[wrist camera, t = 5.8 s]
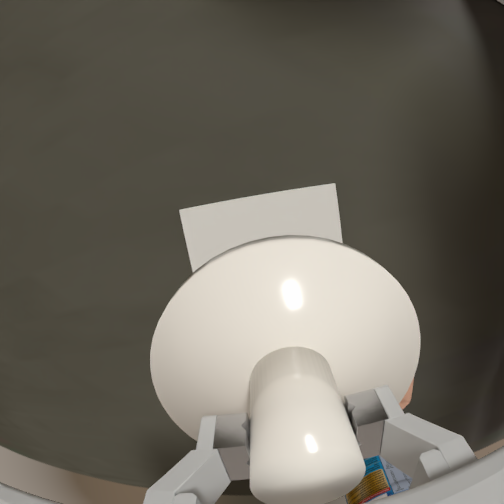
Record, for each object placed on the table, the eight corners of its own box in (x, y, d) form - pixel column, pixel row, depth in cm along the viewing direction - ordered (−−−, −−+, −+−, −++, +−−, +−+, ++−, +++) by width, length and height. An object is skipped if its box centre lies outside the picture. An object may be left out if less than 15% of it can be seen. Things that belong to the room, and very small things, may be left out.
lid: (123, 262, 12) (35, 338, 6) (410, 214, 11) (518, 256, 5) (195, 457, 14) (180, 550, 9) (400, 423, 14) (442, 507, 8)
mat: (180, 209, 25) (179, 210, 24) (333, 183, 24) (335, 183, 24) (212, 345, 28) (211, 347, 27) (347, 322, 27) (348, 324, 27)
